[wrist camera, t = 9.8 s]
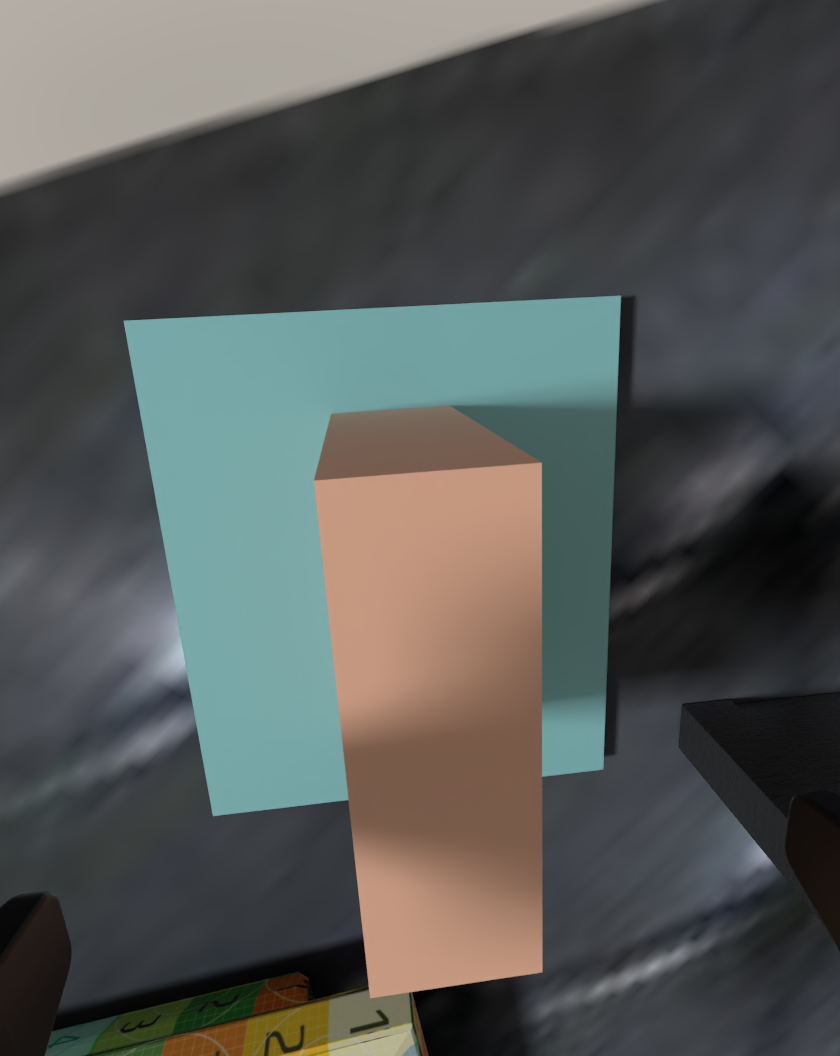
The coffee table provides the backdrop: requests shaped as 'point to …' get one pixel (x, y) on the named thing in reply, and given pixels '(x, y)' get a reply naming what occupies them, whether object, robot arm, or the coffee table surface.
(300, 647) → the teal mat
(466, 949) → the terracotta panel
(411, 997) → the puzzle game
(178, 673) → the coffee table surface
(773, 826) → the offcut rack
